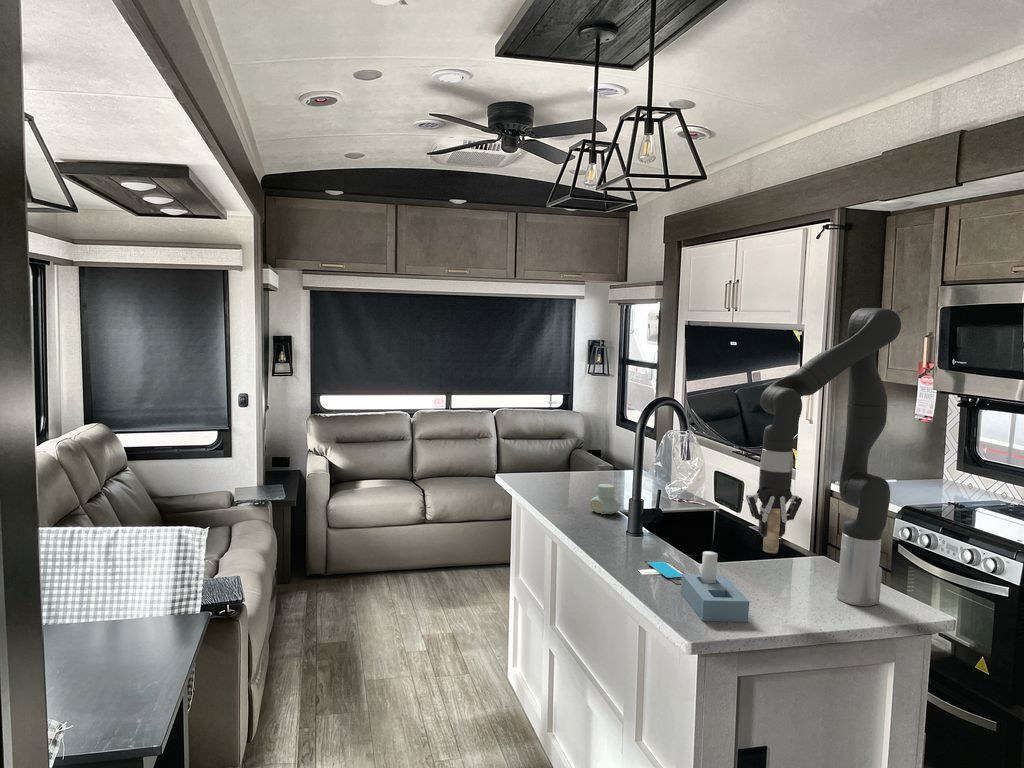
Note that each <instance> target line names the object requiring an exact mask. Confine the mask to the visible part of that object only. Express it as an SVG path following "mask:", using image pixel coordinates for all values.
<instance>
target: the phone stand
mask: <svg viewBox="0 0 1024 768" xmlns="http://www.w3.org/2000/svg"><path fill="white" fill-rule="evenodd" d="M644 561H645V562H646V563H647V564H648V565H649V566H651V567H652V568H651V569H650V568H649V569H637V570H638V571H639V572H640V573H641V574H640V573H639V572H638V571H637V572H638V573H639V574H640V575H641V576H654V575H663V576H664V577H665V578H667V579H668V580H670V581H671V582H673V583H675V584H676V585H679V584H680V585H681V582H680V581H679V579H681V578H682V574H687V573H686V572H685V571H683V570H682V569H680V568H678V567H677V566H676V565H674V564H673V563H671V562H670V561H669V560H667V561H666V562H665V561H652V560H650V559H644Z"/></svg>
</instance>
